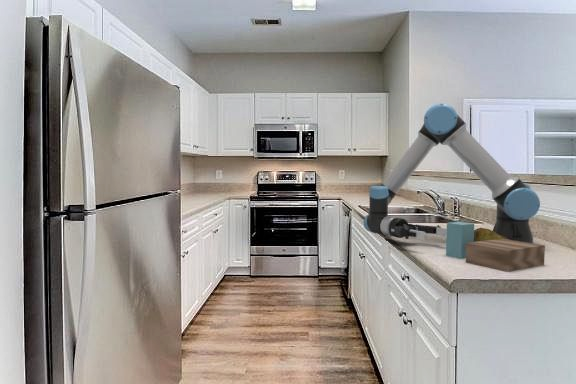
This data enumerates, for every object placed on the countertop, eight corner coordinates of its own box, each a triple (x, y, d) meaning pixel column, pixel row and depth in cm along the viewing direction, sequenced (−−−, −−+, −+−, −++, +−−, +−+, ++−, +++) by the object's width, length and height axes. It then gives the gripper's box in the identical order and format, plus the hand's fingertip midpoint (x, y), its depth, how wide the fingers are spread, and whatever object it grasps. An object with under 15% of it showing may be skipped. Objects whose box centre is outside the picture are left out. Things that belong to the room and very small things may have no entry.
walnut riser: (501, 256, 144) (502, 238, 143) (544, 264, 131) (544, 245, 131) (465, 262, 135) (466, 242, 134) (507, 271, 122) (508, 250, 122)
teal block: (457, 253, 148) (458, 221, 147) (473, 257, 142) (474, 223, 142) (445, 255, 145) (446, 222, 144) (461, 258, 139) (462, 224, 139)
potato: (508, 255, 146) (509, 231, 146) (468, 250, 154) (469, 228, 154) (513, 251, 153) (514, 229, 152) (475, 247, 161) (475, 225, 160)
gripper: (417, 234, 176) (461, 242, 157) (370, 239, 163) (412, 248, 145) (418, 216, 175) (462, 222, 157) (370, 219, 163) (412, 226, 144)
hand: (438, 234), depth 151 cm, fingers open, 13 cm apart
